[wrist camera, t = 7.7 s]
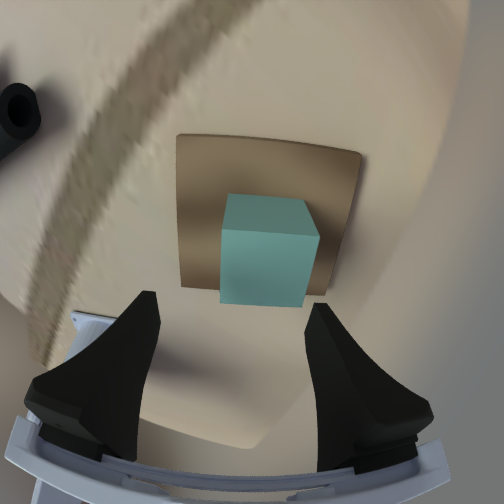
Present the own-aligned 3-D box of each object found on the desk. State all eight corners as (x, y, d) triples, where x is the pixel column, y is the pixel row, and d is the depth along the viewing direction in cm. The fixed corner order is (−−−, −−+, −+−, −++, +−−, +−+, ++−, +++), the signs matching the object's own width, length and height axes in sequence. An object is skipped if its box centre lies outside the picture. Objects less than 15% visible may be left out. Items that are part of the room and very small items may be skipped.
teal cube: (291, 261, 21) (301, 307, 17) (225, 256, 21) (219, 303, 16) (303, 199, 18) (320, 236, 14) (228, 193, 18) (221, 229, 14)
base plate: (322, 287, 24) (332, 320, 20) (183, 279, 23) (174, 312, 20) (357, 151, 17) (381, 168, 14) (180, 134, 17) (162, 145, 13)
